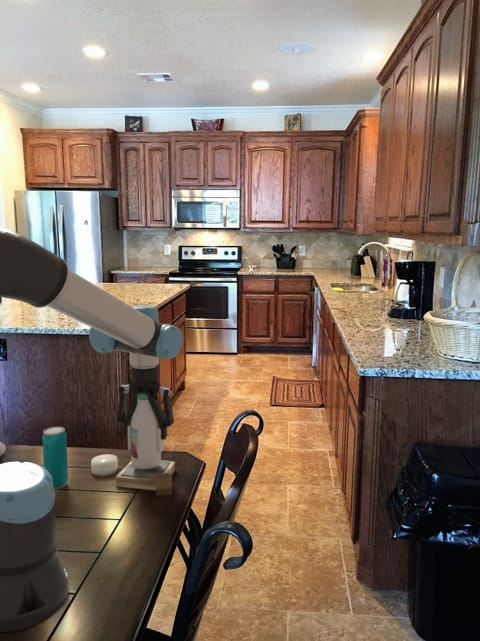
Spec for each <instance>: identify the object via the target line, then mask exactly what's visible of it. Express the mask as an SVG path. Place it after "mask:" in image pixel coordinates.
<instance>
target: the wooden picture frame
mask: <svg viewBox="0 0 480 641" xmlns="http://www.w3.org/2000/svg"><path fill="white" fill-rule="evenodd" d="M175 471H176V461H171V460H162V459H161V462H160V464H159V465H158V466H157V467H154V468H151V469H138V468H135V467H134V466H133V465H132V460H131V461H129V462H128V464H126V466H124V468H123V469H122V470H121V471H119V473H118V474H117V475H115V486H116V487H120V488H121V487H122V488H130V489H131V488H133V489H139V490H140V489H141V490H149V491H156V473H171V472H172V475H173V474H174V472H175Z"/></svg>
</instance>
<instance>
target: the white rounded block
mask: <svg viewBox="0 0 480 641" xmlns="http://www.w3.org/2000/svg"><path fill="white" fill-rule="evenodd" d="M118 459H119V458H118V456H116V455H114V454H111V453H110V454H107V453H106V454H100V455H96V456H94V457H93V458H92V459H91V463H90V464H91V473H92V475H95V476H98V477H99V476H100V477H105V476H109V475H112V474H115V473H116V472H118V470H119V464H118V461H119V460H118Z"/></svg>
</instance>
